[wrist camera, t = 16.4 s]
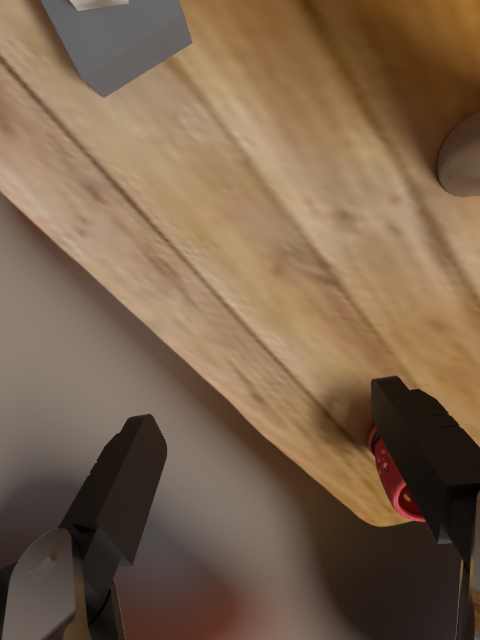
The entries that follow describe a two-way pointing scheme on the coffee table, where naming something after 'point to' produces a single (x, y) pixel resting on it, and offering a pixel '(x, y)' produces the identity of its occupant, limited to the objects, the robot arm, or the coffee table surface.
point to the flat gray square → (119, 38)
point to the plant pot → (392, 479)
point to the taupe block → (96, 3)
